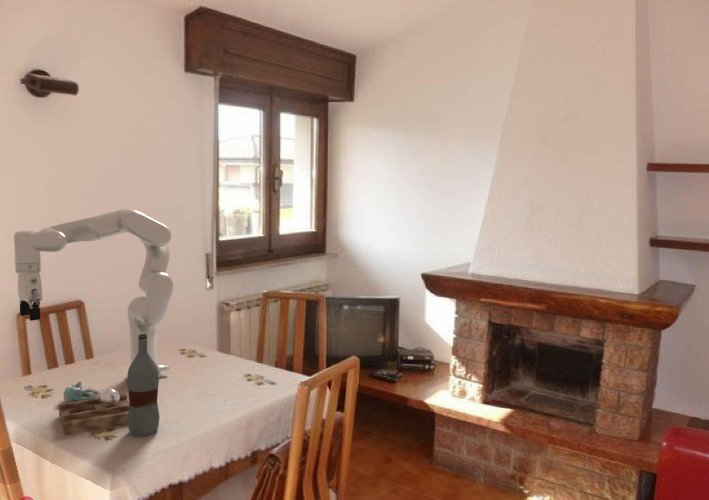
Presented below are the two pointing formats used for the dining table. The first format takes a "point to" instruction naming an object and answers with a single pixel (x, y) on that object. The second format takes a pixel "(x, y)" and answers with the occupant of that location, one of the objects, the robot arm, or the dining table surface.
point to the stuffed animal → (78, 393)
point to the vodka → (143, 392)
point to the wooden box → (92, 415)
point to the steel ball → (109, 398)
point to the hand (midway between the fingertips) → (30, 317)
